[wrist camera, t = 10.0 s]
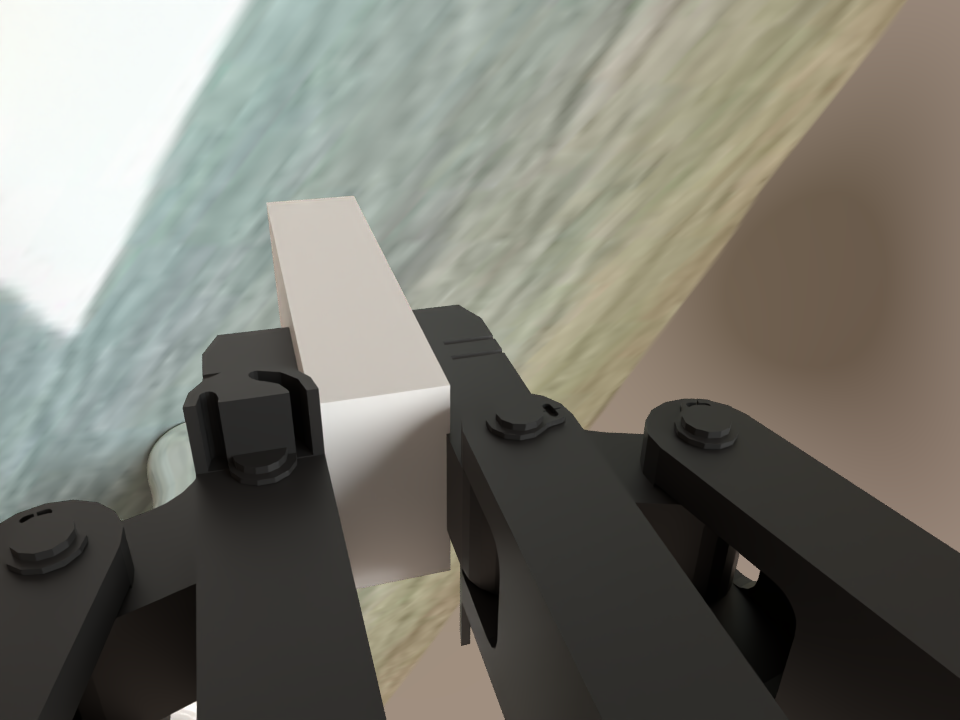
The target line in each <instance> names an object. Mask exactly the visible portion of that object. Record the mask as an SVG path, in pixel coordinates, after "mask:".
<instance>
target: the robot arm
mask: <svg viewBox="0 0 960 720" xmlns="http://www.w3.org/2000/svg"><path fill="white" fill-rule="evenodd" d="M267 212H268V220H269V229H270V237H271V246H272V254H273V263H274V271H275V280H276V288H277V297H278V305H279V314H280V322H281V328H276V329H267V330H258V331H250V332H241V333H233V334H224V335H217V337H216V338H215V339H214V340H213V342H212V343H211V344H210V345H209V347H208V348H207V349H206V351H205V352H204V353H203V354H202V372H203V381H202V382H201V383H200V384H199V385H197V386H196V387H195V388H194V389H193V390H192V391H190V392H189V393H188V395H187V398H186V400H185V403H184V405H183V412H184V417H185V422H186V427H187V432H188V437H189V442H190V447H191V452H192V458H193V463H194V468H195V473H196V479H195V480H194V482H193V483H192V484H190V485H189V486H188V487H187V488H186V489H185V490H184V491H183V492H182V493H181V494H179V495H178V496H176V497H175V498H173V499H172V500H170V501H169V502H167V503H165V504H163V505H161V506H159V507H157V508H154V509H152V510H150V511H148V512H145V513H143V514H140V515H137V516H135V517H132V518H129V519H127V520H124V521H120V519H119V517H118V516H117V514H116V512H115V511H113V510H111V509H109V508H107V507H105V506H104V505H102V504H100V503H97V502H88V501H79V500H69V501H61V502H54V503H47V504H43V505H40V506H37V507H34V508H31V509H29V510H26V511H23V512H20V513H17V514H15V515H13V516H12V517H10V518H8V519H7V520H5V521H3V522H2V523H0V720H170V718H171V714H173V713H175V712H177V711H179V710H181V709H183V708H185V707H186V706H188V705H190V704H192V703H194V702H196V701H197V720H386V716H385V712H384V707H383V703H382V699H381V694H380V690H379V686H378V681H377V677H376V673H375V668H374V664H373V660H372V655H371V651H370V647H369V642H368V638H367V634H366V629H365V625H364V621H363V616H362V612H361V608H360V603H359V599H358V595H357V590H356V589H360V588H365V587H370V586H375V585H379V584H384V583H389V582H394V581H399V580H404V579H409V578H414V577H419V576H424V575H429V574H434V573H439V572H444V571H449V570H450V539H451V542H452V544H453V547H454V549H455V552H456V555H457V557H458V560H459V562H460V636H461V646H462V645H467V644H470V627H471V628H472V631H473V633H474V636H475V639H476V642H477V644H478V647H479V650H480V652H481V655H482V658H483V661H484V663H485V666H486V669H487V671H488V674H489V677H490V680H491V683H492V685H493V688H494V690H495V693H496V696H497V699H498V702H499V704H500V707H501V710H502V713H503V715H504V718H505V720H960V553H959V552H957V551H956V550H954V549H953V548H951V547H949V546H948V545H947V544H945V543H943V542H942V541H940V540H939V539H937V538H936V537H934V536H933V535H931V534H930V533H928V532H926V531H925V530H923V529H922V528H920V527H919V526H917V525H916V524H914V523H913V522H911V521H910V520H908V519H906V518H905V517H904V516H902V515H900V514H899V513H897V512H896V511H894V510H893V509H891V508H890V507H888V506H887V505H885V504H884V503H882V502H880V501H879V500H877V499H876V498H874V497H872V496H871V495H870V494H868V493H867V492H865V491H863V490H862V489H860V488H859V487H857V486H855V485H854V484H852V483H851V482H850V481H848V480H847V479H845V478H844V477H842V476H840V475H839V474H837V473H836V472H834V471H833V470H831V469H830V468H828V467H827V466H825V465H824V464H822V463H820V462H819V461H817V460H816V459H814V458H813V457H811V456H810V455H808V454H807V453H805V452H804V451H802V450H800V449H799V448H797V447H796V446H794V445H793V444H791V443H790V442H788V441H786V440H785V439H784V438H782V437H781V436H779V435H777V434H776V433H774V432H773V431H771V430H770V429H768V428H767V427H765V426H764V425H762V424H761V423H759V422H757V421H756V420H754V419H753V418H751V417H750V416H748V415H747V414H745V413H743V412H741V411H739V410H736V409H734V408H732V407H730V406H728V405H725V404H721V403H717V402H713V401H710V400H705V399H680V400H675V401H669V402H665V403H663V404H661V405H660V406H658V407H656V408H654V409H653V410H651V412H650V414H649V416H648V417H647V419H646V422H645V428H644V434H627V433H606V432H597V431H588V430H584V429H583V428H582V427H581V425H580V424H579V423H578V421H577V420H576V418H575V417H574V416H573V414H572V413H571V412H569V411H568V410H567V409H566V408H565V407H564V406H563V405H562V404H561V403H558V402H556V401H554V400H551V399H549V398H547V397H545V396H541V395H535V394H531V393H530V391H529V390H528V388H527V387H526V385H525V384H524V382H523V381H522V379H521V378H520V376H519V375H518V373H517V372H516V370H515V369H514V367H513V365H512V364H511V362H510V361H509V359H508V358H507V356H506V355H505V353H502V349H501V347H500V346H499V344H498V343H497V341H496V340H495V339H493V335H492V334H491V332H490V331H489V329H488V328H487V326H486V325H485V323H484V322H483V320H482V319H481V318H480V317H478V316H477V315H475V314H473V313H472V312H470V311H468V310H466V309H465V308H463V307H461V306H460V305H452V306H443V307H435V308H426V309H417V310H412V309H411V307H410V305H409V303H408V301H407V299H406V298H405V296H404V294H403V292H402V290H401V288H400V286H399V284H398V282H397V280H396V278H395V276H394V274H393V272H392V270H391V268H390V266H389V264H388V262H387V260H386V258H385V256H384V254H383V252H382V250H381V248H380V246H379V244H378V242H377V240H376V239H375V237H374V235H373V233H372V231H371V229H370V227H369V225H368V223H367V221H366V219H365V217H364V215H363V213H362V211H361V209H360V207H359V205H358V203H357V201H356V199H355V197H354V196H345V197H332V198H319V199H306V200H293V201H281V202H268V203H267ZM739 553H740V554H741V555H742V556H743V557H745V558H746V559H747V560H748V561H750V562H751V563H752V564H753V565H754V566H756V567H757V568H758V569H759V570H760V574H759V578H758V580H757V582H756V581H752V580H750V579H749V578H747V577H745V576H744V575H742V573H740V572H739V571H738V570H737V569H736V566H737V562H738V557H739Z"/></svg>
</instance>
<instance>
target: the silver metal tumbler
mask: <svg viewBox="0 0 960 720" xmlns="http://www.w3.org/2000/svg"><path fill="white" fill-rule="evenodd" d="M147 478H148V483H149V487H150V491H151V495H152V500H153V506H152V509H154V508H157V507H159V506H161V505H163V504H165V503H167V502H169V501H170V500H172V499H173V498H175V497H176V496H178V495H179V494H181V493H182V492H183V491H184V490H185V489H186V488H187V487H188V486H189V485H190V484H192V483H193V482H194V480H195V479H196V473H195V468H194V463H193V458H192V452H191V447H190V442H189V437H188V432H187V427H186V422H185V423H182V424H180V425H178V426H176V427H174V428H172V429H171V430H169V431H168V432H166V433H165V434H164V435H163V436H162V437H161V438H160V439H159V440H158V441H157V442H156V444H155V445H154V447H153V448H152V450H151V452H150V455H149V458H148V462H147ZM170 720H197V701H196V702H194V703H192V704H190V705H188V706H186V707H185V708H183V709H181V710H179V711H177V712H175V713H173V714H171V718H170Z"/></svg>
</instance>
